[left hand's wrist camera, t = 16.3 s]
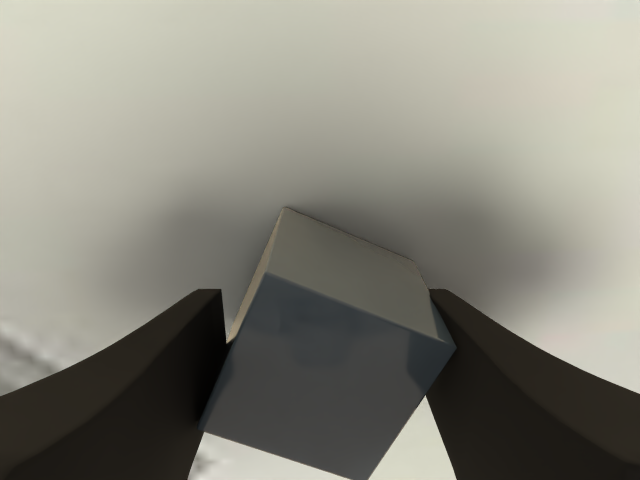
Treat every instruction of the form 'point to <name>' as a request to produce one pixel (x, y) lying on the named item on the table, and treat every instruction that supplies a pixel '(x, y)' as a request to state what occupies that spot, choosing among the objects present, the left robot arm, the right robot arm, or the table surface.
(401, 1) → the table surface
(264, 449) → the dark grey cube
